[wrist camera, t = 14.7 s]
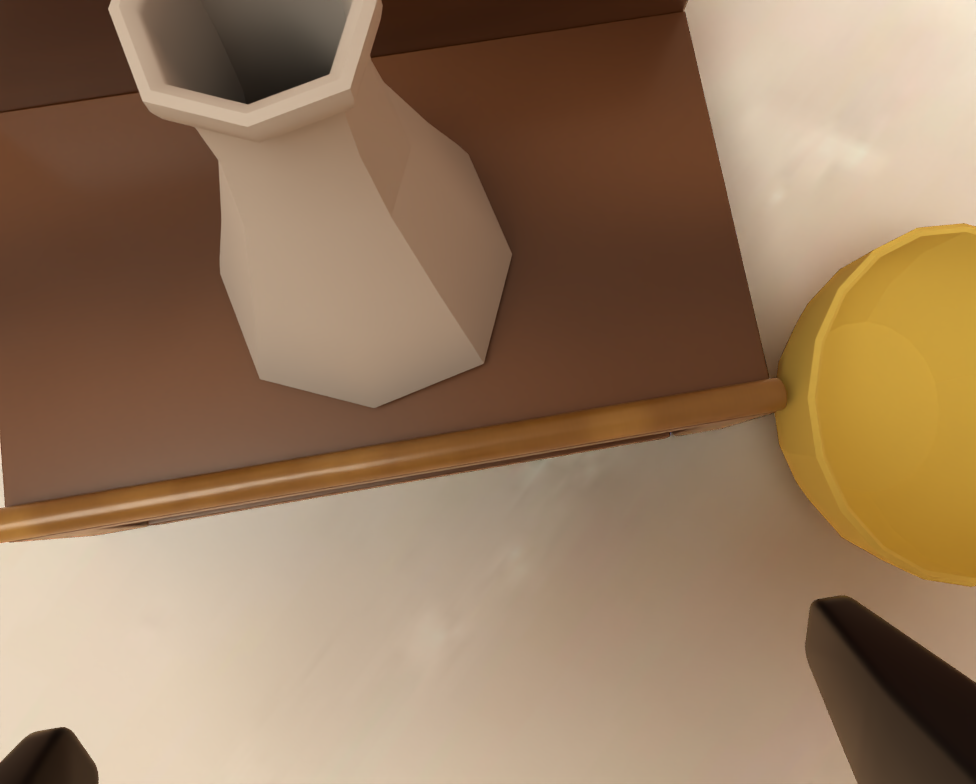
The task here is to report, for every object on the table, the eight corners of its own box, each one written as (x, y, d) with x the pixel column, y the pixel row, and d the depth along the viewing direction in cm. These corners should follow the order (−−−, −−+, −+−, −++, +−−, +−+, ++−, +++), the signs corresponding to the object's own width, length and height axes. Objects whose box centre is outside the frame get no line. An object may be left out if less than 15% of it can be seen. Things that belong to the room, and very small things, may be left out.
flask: (227, 419, 18) (-82, 317, 8) (221, 142, 19) (-57, -250, 9) (522, 399, 18) (576, 274, 8) (501, 124, 19) (525, -278, 9)
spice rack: (724, 428, 22) (890, 376, 13) (93, 536, 21) (-180, 558, 12) (643, 58, 24) (741, -206, 15) (59, 146, 23) (-202, -76, 14)
